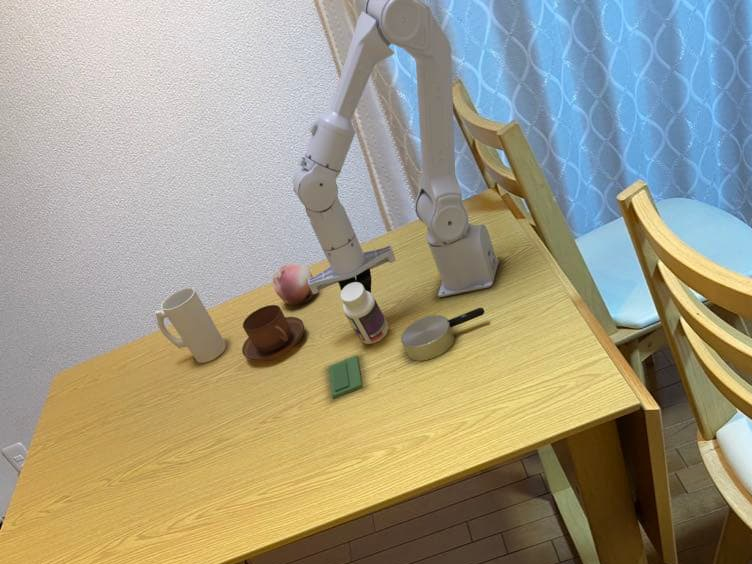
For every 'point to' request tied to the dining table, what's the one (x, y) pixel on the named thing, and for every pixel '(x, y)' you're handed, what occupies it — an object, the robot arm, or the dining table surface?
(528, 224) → the dining table surface
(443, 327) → the pan
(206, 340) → the mug
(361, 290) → the pill bottle
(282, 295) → the onion
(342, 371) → the green light switch
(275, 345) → the cup and saucer
